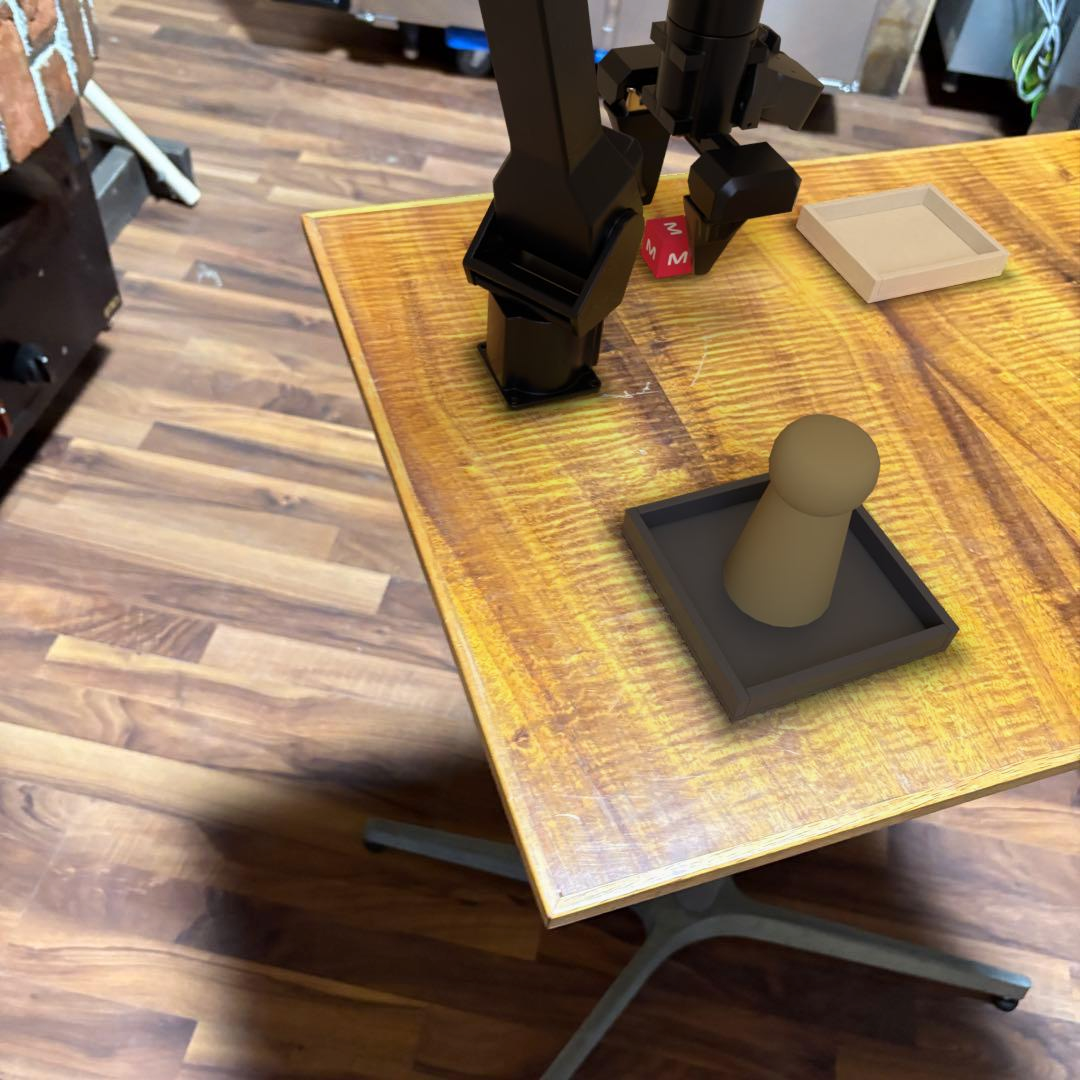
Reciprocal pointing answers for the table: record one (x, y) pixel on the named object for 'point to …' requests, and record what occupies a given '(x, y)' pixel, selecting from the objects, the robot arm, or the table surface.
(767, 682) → the dark tray
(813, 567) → the tan game pawn
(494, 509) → the table surface
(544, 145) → the robot arm
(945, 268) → the light tray
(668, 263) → the red letter m cube
